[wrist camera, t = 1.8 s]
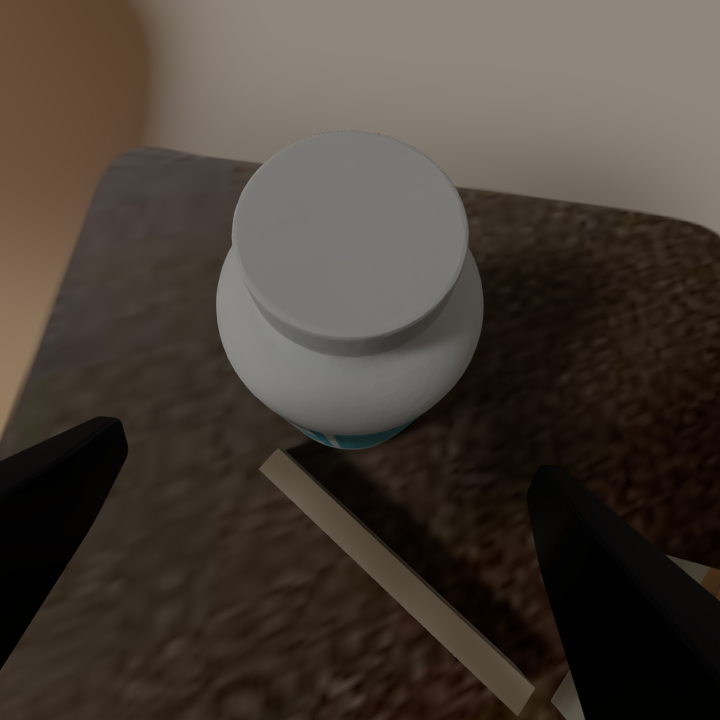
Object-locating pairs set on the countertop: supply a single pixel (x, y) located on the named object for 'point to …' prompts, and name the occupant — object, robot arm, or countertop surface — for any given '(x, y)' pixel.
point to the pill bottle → (350, 287)
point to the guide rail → (400, 581)
